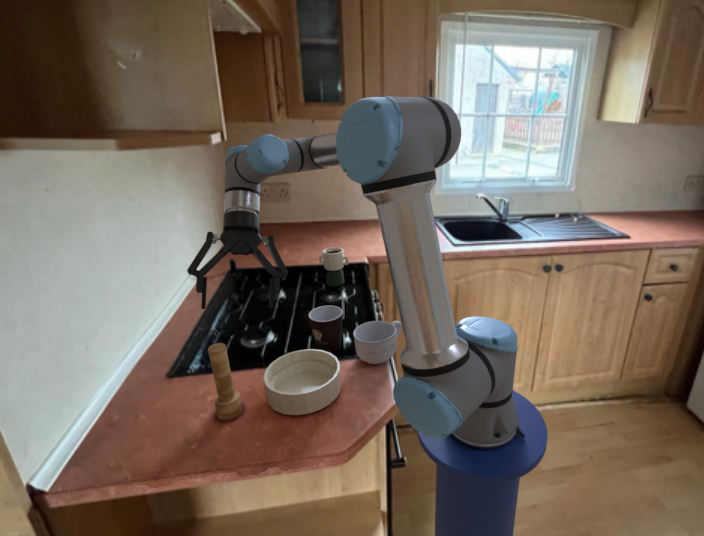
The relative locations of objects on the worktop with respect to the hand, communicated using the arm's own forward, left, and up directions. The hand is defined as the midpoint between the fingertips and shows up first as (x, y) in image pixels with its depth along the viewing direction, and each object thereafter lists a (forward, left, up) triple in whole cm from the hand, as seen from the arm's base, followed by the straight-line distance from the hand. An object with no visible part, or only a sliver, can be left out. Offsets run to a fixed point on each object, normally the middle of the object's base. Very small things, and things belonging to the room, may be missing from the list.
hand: (238, 308), depth 89 cm
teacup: (-22, -23, -20) cm, 37 cm away
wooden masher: (-4, +9, -19) cm, 22 cm away
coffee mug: (-6, -21, -20) cm, 29 cm away
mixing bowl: (-14, -3, -19) cm, 24 cm away
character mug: (+15, -53, -20) cm, 58 cm away
